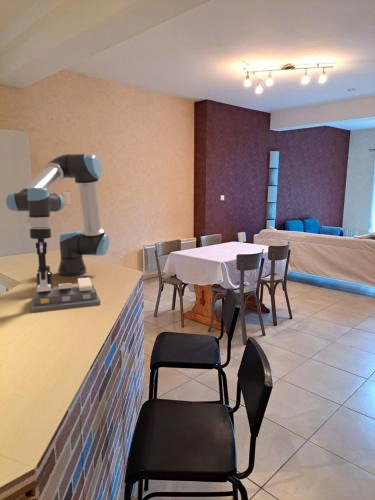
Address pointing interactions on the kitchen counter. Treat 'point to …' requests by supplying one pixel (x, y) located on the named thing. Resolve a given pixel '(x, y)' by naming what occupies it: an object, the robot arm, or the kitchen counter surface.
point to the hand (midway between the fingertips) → (43, 286)
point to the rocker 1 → (44, 288)
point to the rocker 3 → (84, 284)
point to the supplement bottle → (49, 277)
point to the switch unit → (63, 299)
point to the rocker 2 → (65, 285)
